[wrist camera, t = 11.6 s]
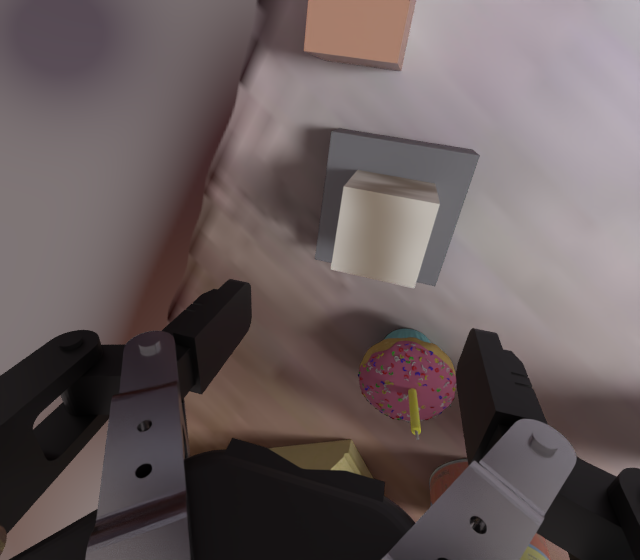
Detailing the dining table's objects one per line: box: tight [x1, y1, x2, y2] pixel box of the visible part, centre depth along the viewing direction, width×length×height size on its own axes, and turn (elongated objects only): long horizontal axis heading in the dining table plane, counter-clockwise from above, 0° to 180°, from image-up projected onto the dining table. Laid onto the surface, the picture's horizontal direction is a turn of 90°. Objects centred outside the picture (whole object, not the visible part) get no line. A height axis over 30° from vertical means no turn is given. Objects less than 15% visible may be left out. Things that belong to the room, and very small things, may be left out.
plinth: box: [315, 128, 480, 286], centre depth 27 cm, size 10×10×3 cm
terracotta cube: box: [304, 0, 416, 71], centre depth 20 cm, size 6×6×6 cm
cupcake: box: [358, 329, 457, 440], centre depth 29 cm, size 9×8×12 cm
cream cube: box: [331, 170, 440, 288], centre depth 23 cm, size 6×6×6 cm
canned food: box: [429, 459, 551, 560], centre depth 36 cm, size 11×11×12 cm
